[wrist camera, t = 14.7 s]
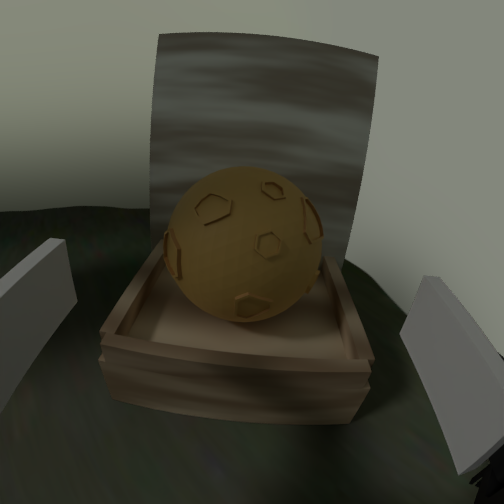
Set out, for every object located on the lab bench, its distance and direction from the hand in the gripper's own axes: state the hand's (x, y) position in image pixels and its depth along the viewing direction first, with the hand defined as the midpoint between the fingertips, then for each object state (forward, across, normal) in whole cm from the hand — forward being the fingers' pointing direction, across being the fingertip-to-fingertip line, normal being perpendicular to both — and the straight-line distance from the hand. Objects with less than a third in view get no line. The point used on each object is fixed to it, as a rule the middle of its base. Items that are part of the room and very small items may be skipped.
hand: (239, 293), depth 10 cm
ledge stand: (+9, 0, -12) cm, 15 cm away
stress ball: (+9, 0, -8) cm, 12 cm away
